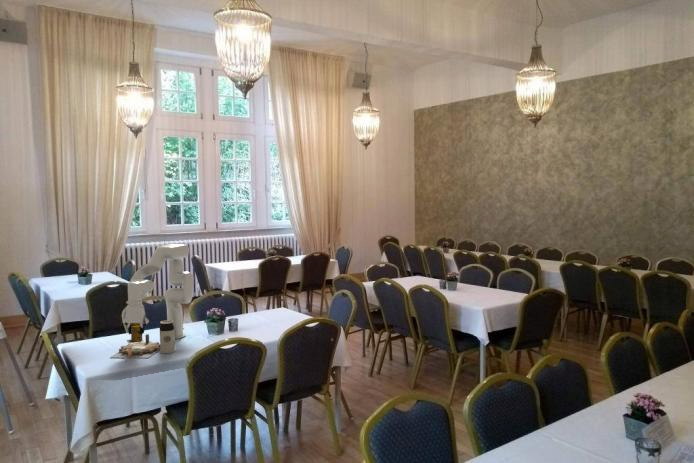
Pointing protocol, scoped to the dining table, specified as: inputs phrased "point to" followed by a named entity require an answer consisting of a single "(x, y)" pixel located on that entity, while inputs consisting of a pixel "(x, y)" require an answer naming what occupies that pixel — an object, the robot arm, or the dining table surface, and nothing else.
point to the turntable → (141, 347)
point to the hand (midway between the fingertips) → (136, 333)
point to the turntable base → (130, 355)
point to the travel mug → (167, 337)
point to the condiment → (135, 333)
